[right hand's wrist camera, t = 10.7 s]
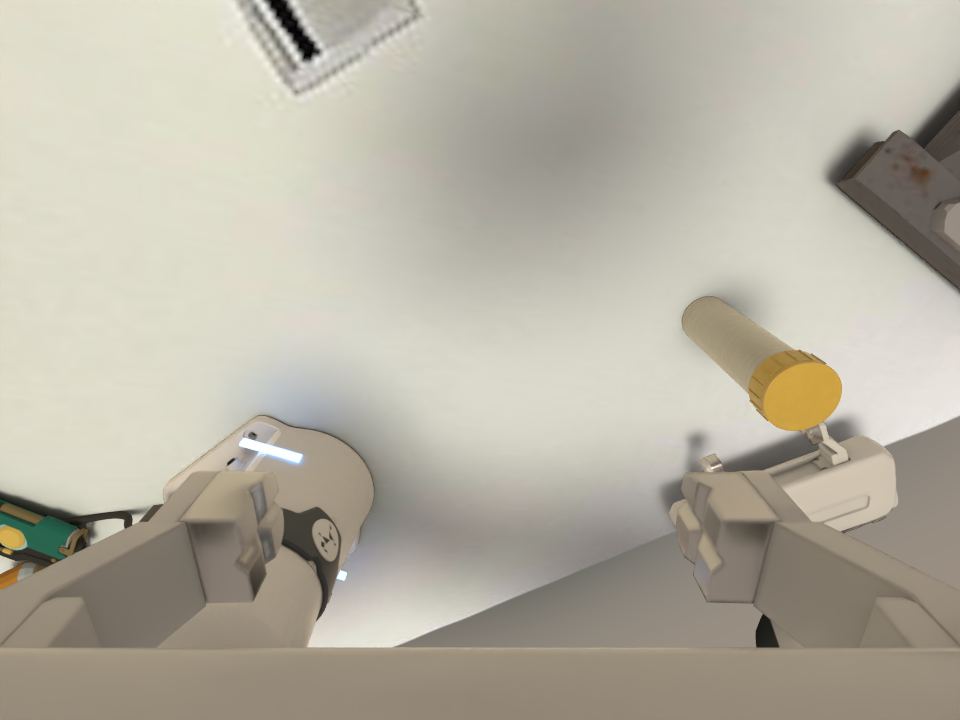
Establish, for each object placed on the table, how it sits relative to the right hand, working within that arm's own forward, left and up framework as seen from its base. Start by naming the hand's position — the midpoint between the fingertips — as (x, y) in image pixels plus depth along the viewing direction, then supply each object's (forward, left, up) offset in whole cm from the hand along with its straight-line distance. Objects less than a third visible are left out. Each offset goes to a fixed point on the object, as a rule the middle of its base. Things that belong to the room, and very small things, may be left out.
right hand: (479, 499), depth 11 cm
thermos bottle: (0, +23, -39) cm, 45 cm away
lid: (0, +23, -23) cm, 32 cm away
